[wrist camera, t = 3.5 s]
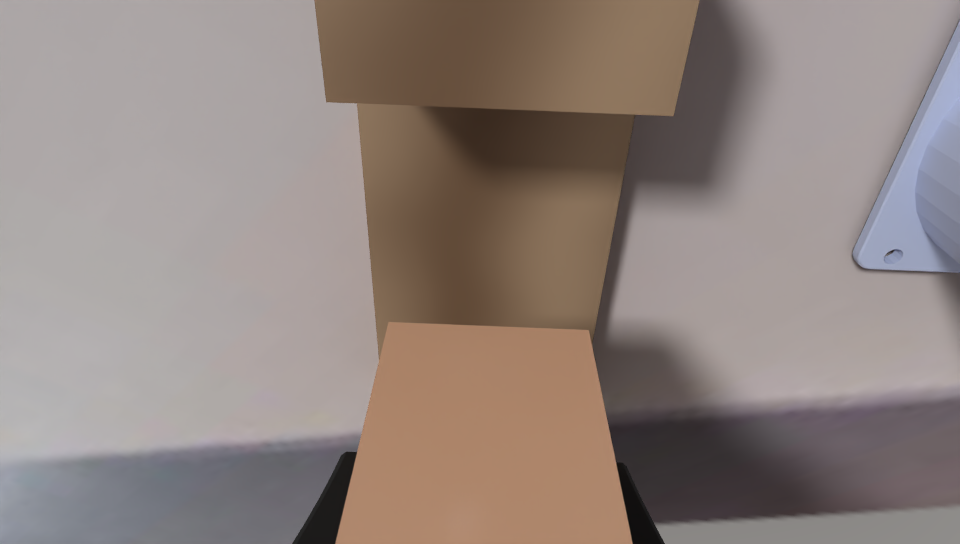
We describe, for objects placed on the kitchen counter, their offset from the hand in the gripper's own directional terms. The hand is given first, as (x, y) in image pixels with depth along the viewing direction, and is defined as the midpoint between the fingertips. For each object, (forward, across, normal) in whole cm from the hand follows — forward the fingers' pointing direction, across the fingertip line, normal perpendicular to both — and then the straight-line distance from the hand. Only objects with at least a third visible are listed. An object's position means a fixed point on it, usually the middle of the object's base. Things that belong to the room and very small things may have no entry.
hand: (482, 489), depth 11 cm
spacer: (+2, 0, 0) cm, 2 cm away
